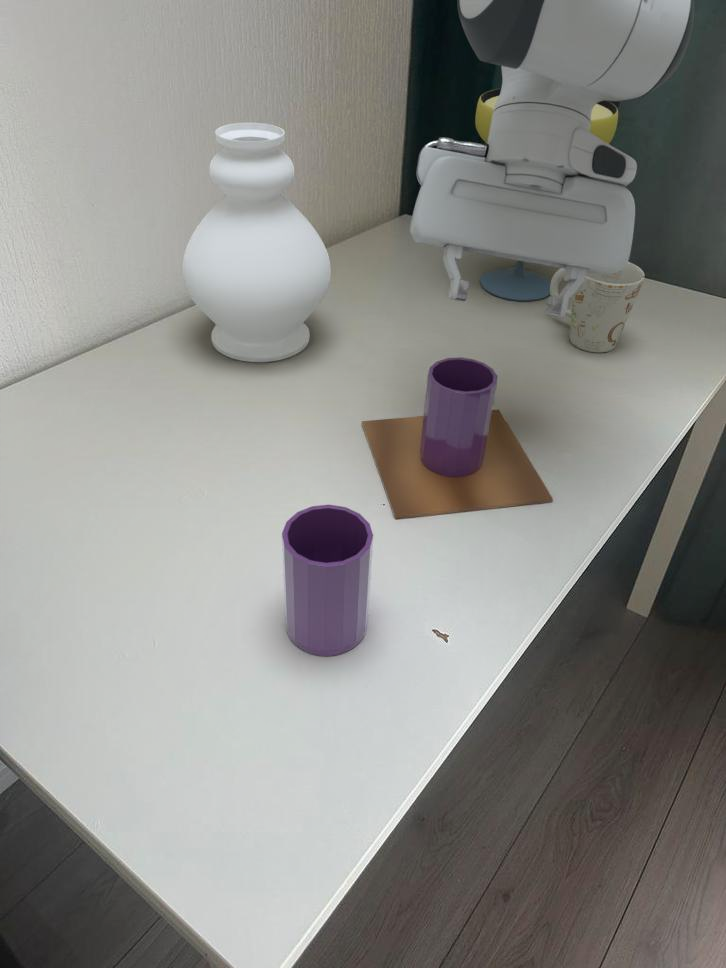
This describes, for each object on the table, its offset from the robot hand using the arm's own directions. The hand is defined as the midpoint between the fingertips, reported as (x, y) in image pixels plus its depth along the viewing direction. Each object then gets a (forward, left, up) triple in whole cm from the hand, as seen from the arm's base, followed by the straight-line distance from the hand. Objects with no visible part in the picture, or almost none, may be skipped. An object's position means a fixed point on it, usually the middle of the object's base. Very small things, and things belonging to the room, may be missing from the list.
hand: (506, 308), depth 72 cm
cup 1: (+20, +21, -16) cm, 34 cm away
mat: (+4, +2, -16) cm, 17 cm away
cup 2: (+4, +1, -16) cm, 16 cm away
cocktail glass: (-18, -39, -17) cm, 46 cm away
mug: (-21, -23, -17) cm, 35 cm away
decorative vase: (+21, -28, -17) cm, 38 cm away
